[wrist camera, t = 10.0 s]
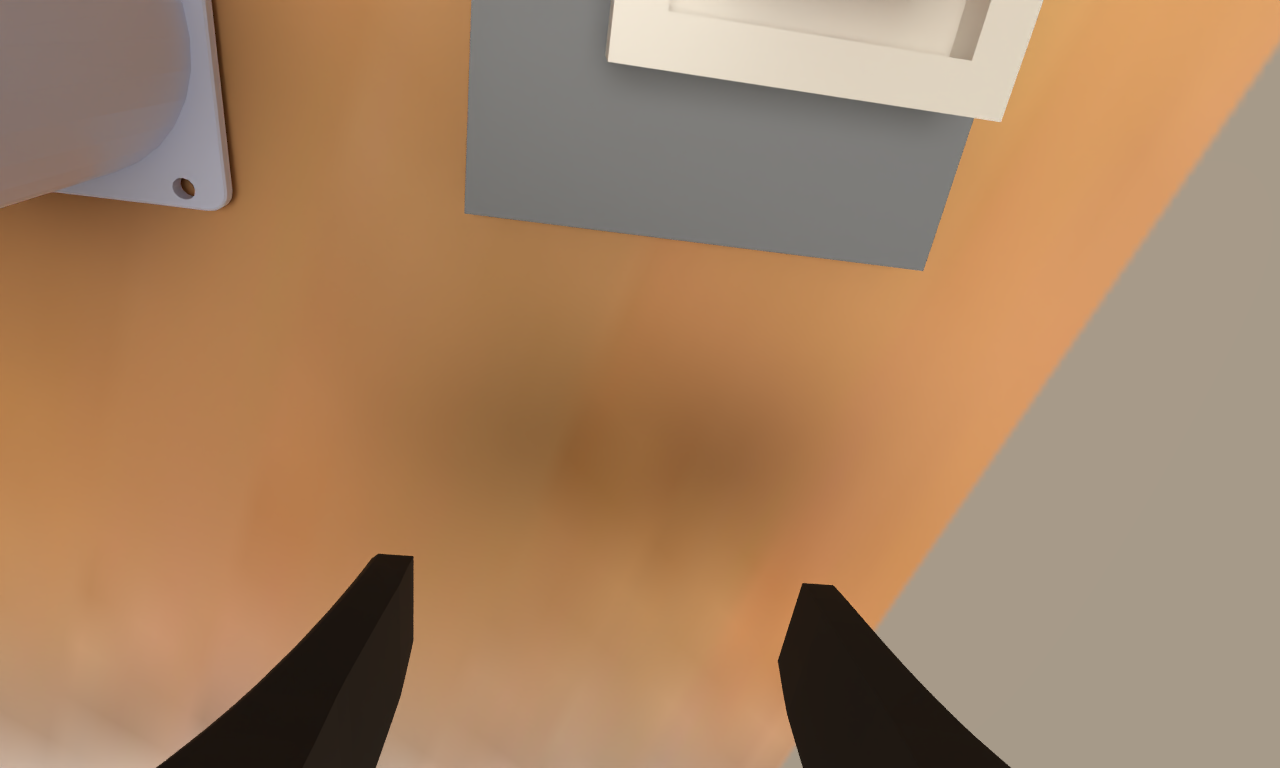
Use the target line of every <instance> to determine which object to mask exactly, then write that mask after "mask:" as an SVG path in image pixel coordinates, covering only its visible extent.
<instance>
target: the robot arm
mask: <svg viewBox="0 0 1280 768" xmlns="http://www.w3.org/2000/svg"><path fill="white" fill-rule="evenodd" d="M182 178H184V179H187V180H189V181H190V182H191V183H192V184H193V186H194V188H195V195H194V196H191V195H189V194H187V193H186V192H185V191H184V190H183V189H182V186H181V179H182ZM51 192H57V193H65V194H73V195H82V196H90V197H98V198H107V199H115V200H123V201H131V202H140V203H148V204H156V205H165V206H173V207H181V208H189V209H198V210H206V211H213V210H218V209H220V208H222V207H224V206H226V205H227V204H228V203H229V202H230V200H231V199H232V182H231V173H230V164H229V155H228V146H227V137H226V128H225V119H224V110H223V101H222V92H221V83H220V74H219V65H218V56H217V47H216V38H215V29H214V20H213V11H212V2H211V0H0V208H3V207H6V206H10V205H13V204H16V203H19V202H22V201H25V200H29V199H32V198H35V197H38V196H41V195H44V194H48V193H51ZM412 644H413V556H402V555H387V554H377V555H376V556H375V557H373V558H372V559H371V560H370V562H369V563H368V564H367V565H366V567H365V568H364V569H363V571H362V572H361V573H360V574H359V576H358V577H357V578H356V579H355V581H354V582H353V583H352V584H351V585H350V587H349V588H348V589H347V590H346V591H345V593H344V594H343V595H342V596H341V597H340V598H339V599H338V601H337V602H336V603H335V604H334V605H333V606H332V608H331V609H330V610H329V611H328V612H327V613H326V614H325V615H324V616H323V617H322V619H321V620H320V621H319V622H318V623H317V624H316V625H315V626H314V627H313V628H312V629H311V631H310V632H309V633H308V634H307V635H306V636H305V637H304V638H303V639H302V640H301V641H300V642H299V643H298V644H297V645H296V646H295V647H294V649H293V650H291V651H290V652H289V653H288V654H287V655H286V656H285V657H284V658H283V659H282V660H281V661H280V662H279V663H278V664H277V665H276V666H275V667H274V668H273V669H272V670H271V671H270V672H269V673H268V674H267V675H266V676H265V677H264V678H263V679H262V680H261V681H260V682H259V683H258V684H257V685H256V686H254V687H253V688H252V689H251V690H250V691H249V692H248V693H247V694H246V695H245V696H243V697H242V698H241V699H240V700H239V701H238V702H237V703H236V704H234V705H233V706H232V707H231V708H230V709H229V710H228V711H226V712H225V713H224V714H223V715H222V716H221V717H219V718H218V719H217V720H216V721H215V722H213V723H212V724H211V725H210V726H209V727H208V728H206V729H205V730H204V731H203V732H201V733H200V734H199V735H198V736H196V737H195V738H194V739H193V740H191V741H190V742H189V743H187V744H186V745H185V746H184V747H182V748H181V749H180V750H178V751H177V752H176V753H175V754H173V755H172V756H171V757H170V758H168V759H167V760H166V761H164V762H163V763H162V764H160V765H159V766H158V767H156V768H376V765H377V763H378V760H379V757H380V754H381V751H382V748H383V745H384V743H385V740H386V737H387V734H388V731H389V728H390V725H391V722H392V720H393V717H394V714H395V711H396V708H397V705H398V702H399V699H400V696H401V692H402V688H403V684H404V679H405V675H406V671H407V666H408V662H409V658H410V653H411V649H412ZM778 664H779V670H780V677H781V683H782V689H783V695H784V700H785V705H786V711H787V715H788V719H789V722H790V726H791V729H792V733H793V736H794V739H795V743H796V746H797V749H798V752H799V756H800V759H801V763H802V766H803V768H1010V767H1009V766H1008V765H1007V764H1006V763H1005V762H1004V761H1002V760H1001V759H1000V758H999V757H998V756H997V755H995V754H994V753H993V752H992V751H991V750H990V749H989V748H988V747H986V746H985V745H984V744H983V743H982V742H981V741H980V740H978V739H977V738H976V737H975V736H974V735H973V734H972V733H971V732H970V731H968V729H966V728H965V727H964V726H963V725H962V724H961V723H960V722H959V721H958V720H957V719H956V718H955V717H954V716H953V715H952V714H951V713H950V712H949V711H948V710H946V708H945V707H944V706H943V705H942V704H941V703H940V702H939V701H938V700H937V699H936V698H935V697H934V696H933V695H932V694H931V693H930V692H929V691H928V690H927V689H926V688H925V687H924V686H923V685H922V684H921V683H920V682H919V681H918V680H917V679H916V678H915V677H914V675H913V674H912V673H911V672H910V671H909V670H908V669H907V668H906V667H905V666H904V665H903V664H902V662H901V661H900V660H899V659H898V658H897V657H896V656H895V655H894V654H893V653H892V651H891V650H890V649H889V648H888V647H887V646H886V645H885V644H884V643H883V642H882V640H881V639H880V638H879V637H878V636H877V634H876V633H875V632H874V631H873V630H872V629H871V628H870V626H869V625H868V624H867V623H866V622H865V621H864V620H863V618H862V617H861V616H860V615H859V614H858V613H857V611H856V610H855V609H854V608H853V607H852V606H851V605H850V603H849V602H848V601H847V600H846V599H845V598H844V597H843V595H842V594H841V593H840V592H839V591H838V590H837V589H836V588H835V587H834V586H833V585H821V584H807V583H802V587H801V590H800V593H799V596H798V599H797V602H796V605H795V609H794V612H793V615H792V618H791V621H790V624H789V627H788V631H787V634H786V637H785V640H784V643H783V646H782V649H781V653H780V656H779V659H778Z"/></svg>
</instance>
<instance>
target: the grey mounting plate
mask: <svg viewBox="0 0 1280 768" xmlns="http://www.w3.org/2000/svg"><path fill="white" fill-rule="evenodd" d="M610 6H611V0H472V1H471V32H470V62H469V92H468V123H467V153H466V184H465V213H466V214H473V215H481V216H489V217H497V218H505V219H513V220H521V221H529V222H537V223H545V224H553V225H561V226H569V227H577V228H585V229H593V230H601V231H609V232H617V233H625V234H633V235H641V236H649V237H657V238H665V239H673V240H681V241H689V242H697V243H705V244H713V245H721V246H729V247H737V248H745V249H753V250H761V251H769V252H777V253H785V254H793V255H800V256H808V257H816V258H824V259H832V260H840V261H848V262H856V263H864V264H872V265H880V266H888V267H896V268H904V269H912V270H920V271H923V270H924V267H925V264H926V261H927V258H928V255H929V252H930V249H931V246H932V243H933V240H934V237H935V234H936V231H937V228H938V225H939V222H940V219H941V216H942V213H943V210H944V207H945V204H946V201H947V198H948V195H949V192H950V189H951V186H952V183H953V180H954V177H955V174H956V171H957V168H958V165H959V162H960V159H961V156H962V152H963V149H964V146H965V143H966V140H967V137H968V134H969V131H970V128H971V125H972V122H973V119H974V118H971V117H965V116H958V115H952V114H945V113H939V112H932V111H926V110H919V109H913V108H906V107H899V106H893V105H886V104H880V103H873V102H867V101H860V100H854V99H847V98H841V97H834V96H828V95H821V94H815V93H808V92H802V91H795V90H789V89H782V88H776V87H769V86H763V85H756V84H750V83H743V82H737V81H730V80H724V79H717V78H711V77H704V76H698V75H691V74H685V73H678V72H672V71H665V70H659V69H652V68H646V67H639V66H632V65H626V64H619V63H613V62H608V61H607V59H606V56H605V51H606V42H607V33H608V24H609V15H610Z"/></svg>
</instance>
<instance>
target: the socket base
mask: <svg viewBox="0 0 1280 768" xmlns="http://www.w3.org/2000/svg"><path fill="white" fill-rule="evenodd" d="M1042 3H1043V0H611V6H610V15H609V24H608V33H607V42H606V51H605V56H606V59H607V61H608V62H613V63H619V64H626V65H632V66H639V67H646V68H652V69H659V70H665V71H672V72H678V73H685V74H691V75H698V76H704V77H711V78H717V79H724V80H730V81H737V82H743V83H750V84H756V85H763V86H769V87H776V88H782V89H789V90H795V91H802V92H808V93H815V94H821V95H828V96H834V97H841V98H847V99H854V100H860V101H867V102H873V103H880V104H886V105H893V106H899V107H906V108H913V109H919V110H926V111H932V112H939V113H945V114H952V115H958V116H965V117H971V118H978V119H984V120H991V121H997V122H1001V120H1002V118H1003V115H1004V112H1005V109H1006V106H1007V103H1008V100H1009V97H1010V95H1011V92H1012V89H1013V86H1014V83H1015V80H1016V77H1017V75H1018V72H1019V69H1020V66H1021V63H1022V60H1023V57H1024V54H1025V52H1026V49H1027V46H1028V43H1029V40H1030V37H1031V34H1032V32H1033V29H1034V26H1035V23H1036V20H1037V17H1038V14H1039V11H1040V9H1041V6H1042Z"/></svg>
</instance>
